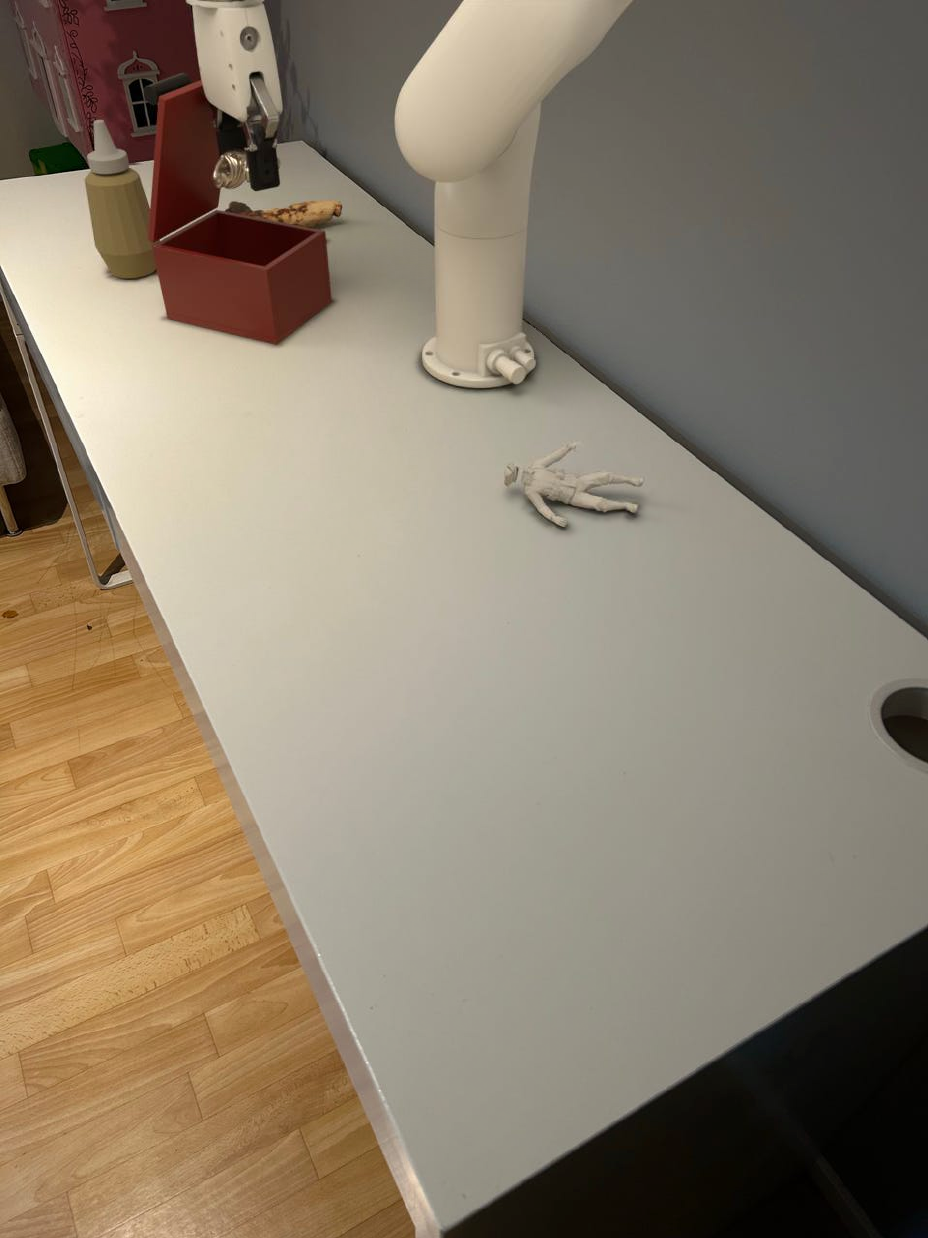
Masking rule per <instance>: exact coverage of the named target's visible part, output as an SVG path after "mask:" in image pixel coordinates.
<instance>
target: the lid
mask: <svg viewBox="0 0 928 1238" xmlns="http://www.w3.org/2000/svg"><path fill="white" fill-rule="evenodd" d="M143 97H144V99H145V100H146V102H147V103H148V104H149V105H152V106H155V105H158V106H157V117H156V119H157V120H156V130H155V142H154V156H153V166H152V181H151V182H152V183H151V193H150V194H151V195H150V204H149V207H150V218H149V231H148V240H149V241H150V242H152V243H154V242H156V241H158V240H160V241H161V240H163V239H164V238H166V237H168V236H170V235H172V234H173V233H175V232H177V231H179V230H181V229H182V228H184V227H186V226H188V225H190V224H191V223H193V222H195V221H197V220H199V219H201V218H202V217H204V216H206V215H208V214H210V213H211V212H213V211H215V210H217V208H219V203H220V197H221V189H222V188H216V187H215V186H214V184H213V181H212V174H213V170H214V168H215V165H216V163H217V162H218V160H219V159H220V157H219V150H218V144H217V138H216V131H219V130H220V129H219V130H216V129H215V128H214V125H213V111H212V109H211V108H210V106H209V104H210V103H209V101H208V100H207V98H206V96H205V93H204V89H203V85H202V80H201V79H199V80H198V81H195V82H193V83H192V79H191V78H190V76H189V75H188V74H187V73H185V72H180V73H178V74H175V75H173V76H170V77H167V78H164V79H161V80H159V81H157V82H154V83H151V84H149V85H146V86H145V87H144V88H143Z"/></svg>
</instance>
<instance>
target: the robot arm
mask: <svg viewBox="0 0 928 1238" xmlns="http://www.w3.org/2000/svg"><path fill="white" fill-rule="evenodd" d="M633 1H634V0H462V2H461V3H460V4H459V6H458V7H457V9H456V10H455V12H454V13H453V14H452V15H451V17H450V18H449V20H448V21H447V22H446V24H445V26H444V27H443V28H442V30H440V32H439V33H438V35H437V36H436V37H435V39H434V41H433V42H432V43H431V44H430V46H429V47H428V48H427V50H426V51H425V53H424V54H423V55H422V57H421V58H420V60H419V61H418V62H417V64H416V65H415V67H414V68H413V69H412V71H411V72H410V74H409V75H408V77H407V79H406V80H405V82H404V83H403V85H402V87H401V90H400V92H399V94H398V97H397V101H396V105H395V111H394V131H395V139H396V142H397V145H398V148H399V151H400V152H401V154H402V156H403V158H404V160H405V161H406V163H407V164H408V165H409V166H410V168H412V169H413V170H414V171H415V172H416V173H417V174H419V175H420V176H422V177H424V178H426V179H428V180H430V181H434V182H435V183H434V199H433V200H434V202H433V203H434V205H433V207H434V221H433V223H434V226H433V227H434V228H433V229H434V231H433V232H434V235H433V236H434V292H435V293H434V297H435V299H434V300H435V301H434V302H435V336H434V337H432V338H430V339H429V340H428V341H427V342H426V343H425V345H423V348H422V352H421V357H422V358H421V359H422V365H423V367H424V369H425V371H427V373H428V374H429V375H431V376H432V377H433V378H435V379H437V380H438V381H440V382H444V383H446V384H449V385H452V386H457V387H462V388H470V389H490V388H497V387H502V386H507V385H510V384H514V385H518V384H520V383H522V382H523V381H524V380H525V378H526V376H527V375H528V374H529V373H530V372H531V371H533V370H534V369H535V367H536V365H537V360H536V359H535V351H534V348H533V346H531V344H530V343H529V342H528V341H527V339H526V337H527V335H526V334H525V333H524V332H523V315H524V299H525V278H526V261H527V242H528V224H529V212H530V195H531V185H532V184H531V183H532V174H533V166H534V159H535V152H536V147H537V146H536V145H537V140H538V136H539V135H538V134H539V128H540V119H541V111H542V102H543V101H544V100H545V98H547V96H548V95H549V94H550V92H551V91H552V90H553V89H554V88H556V87H557V85H558V84H559V83H560V82H561V80H563V78H564V77H565V76H566V75H568V73H570V72H571V71H572V70H574V69H575V68H576V67H578V66H579V65H580V64H581V63H582V62H584V61H585V60H586V59H587V58H588V57H590V55H591V54H592V53H593V52H594V51H595V50H596V49H597V47H599V45H600V43H601V42H602V40H603V39H604V38H605V36H606V35H607V34H608V33H609V30H610V29H611V28H612V27H613V25H614V24H615V23H616V21H617V20H619V18H620V17H621V15H622V14H623V13H624V12H625V10H626V9H627V8H628V7H629V6H630V5H631V3H632V2H633ZM185 2H186V4H188V5H190V6H192V18H193V30H194V37H195V38H194V39H195V47H196V55H197V61H198V68H199V74H200V80H202V85H203V89H204V93H205V96H206V98H207V100H208V101H209V103H210V104H209V106H210V108H211V109H212V111H213V125H214V128H215V129H216V130H219V129H220V130H219V131H216V138H217V144H218V150H219V157H220V156H221V155H223V154H224V153H225V152H227V151H228V150H234V149H235V148H238V149H241V150H242V148H244V147H245V148H247V149H249V150H246V158H247V165H248V172H249V179H250V182H249V185H250V189H251V190H253V191H254V192H259V191H264V190H269V189H274V188H278V187H280V186H281V179H280V168H279V169H278V160H277V157H278V154H277V147H278V139H277V137H278V136H277V135H278V132H279V131H278V127H279V123H280V116H281V115H282V113H283V110H284V107H283V105H284V104H283V98H282V97H283V96H282V91H281V83H280V77H279V71H278V64H277V58H276V57H277V56H276V52H275V46H274V42H273V37H272V31H271V27H270V23H269V19H268V15H267V11H266V7H265V4H264V3H263V2H265V0H185ZM256 110H257V111H258V112H259V113H258V114H252V115H250V114H249V113H248V112H250V111H256ZM254 124H255V125H256V124H260V125H258V126H257V127H256V129H255V132H254V128H253V126H252V125H254Z"/></svg>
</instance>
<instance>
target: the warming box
mask: <svg viewBox="0 0 928 1238" xmlns="http://www.w3.org/2000/svg"><path fill="white" fill-rule="evenodd" d="M326 234H327V233H326V230H323V229H319V228H313V227H309V228H308V227H303V226H297V225H292V224H287V223H282V222H277V221H272V220H266V219H261V218H256V217H251V216H246V215H241V214H235V213H230V212H225V210H219V209H214V210H212V211H211V212H209V213H207V214H205V215H203V216H202V217H200V218H198V219H196V220H194V221H193V222H191V223H189V224H187V225H185V226H184V227H182V228H180V229H178V230H176V231H175V232H173V233H171V234H169V235H167V236H166V237H164V238H162V239H160V241H159V242H158V243H156V244H154V245H152V250H153V255H154V259H155V264H156V273H157V278H158V282H159V286H160V291H161V295H162V300H163V304H164V309H165V314H166V318H167V319H168V320H172V321H176V322H181V323H185V324H190V325H193V326H196V327H202V328H206V329H210V330H214V331H219V332H222V333H227V334H231V335H235V336H239V337H243V338H244V337H245V338H248V339H251V340H256V341H260V342H264V343H269V344H272V345H275V346H276V345H277V346H278V345H279V344H280V343H281V342H283V340H285V339H286V338H288V337H289V336H290V335H291V334H293V333H294V332H295V331H296V330H298V329H299V328H300V327H301V326H303V325H304V324H305V323H307V322H308V321H309V320H311V319H312V318H314V317H315V316H316V315H317V314H319V312H321V311H322V310H323V309H326V307H327V306H329V305H331V303H332V302H333V297H332V289H331V278H330V267H329V254H328V243H327V235H326Z"/></svg>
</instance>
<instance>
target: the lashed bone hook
mask: <svg viewBox="0 0 928 1238" xmlns="http://www.w3.org/2000/svg"><path fill="white" fill-rule="evenodd" d="M342 210H343V204H342V203H341V201H338V200H331V199H330V200H329V199H327V200H317V201H316V200H315V201H314V200H310V201H304V202H300V203H293V204H291V205H289V206H286V207H281V208H279V207H276V208H271V209H268V210H262V209H256V210H253V209H251V207H249V206H248V205H247V204H246V203H244V202H240V201H237V200H236V201H234V200H233V201H230V202H229V203H228V208H226V209H225V210H224V211H225V212H230V213H235V214H241V215H246V216H251V217H256V218H261V219H266V220H272V221H277V222H282V223H287V224H292V225H297V226H303V227H308V228H313V227H315V226H318V225H321V224H324V223H327V222H330V221H332V219H333V217H336V218H340V217H341V215H342Z"/></svg>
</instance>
